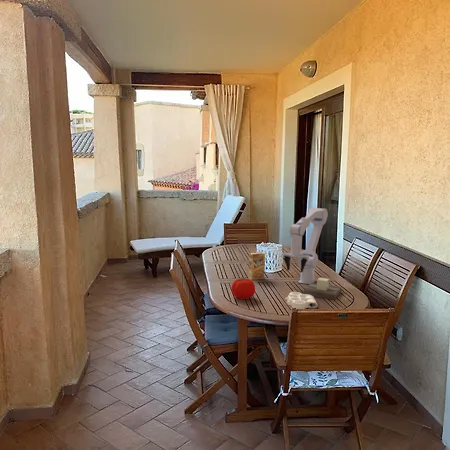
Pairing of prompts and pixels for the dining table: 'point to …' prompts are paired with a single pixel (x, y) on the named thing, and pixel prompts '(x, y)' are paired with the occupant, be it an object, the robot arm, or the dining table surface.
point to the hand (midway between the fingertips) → (295, 270)
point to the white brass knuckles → (301, 300)
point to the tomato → (243, 288)
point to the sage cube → (322, 284)
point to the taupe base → (322, 291)
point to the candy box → (256, 265)
